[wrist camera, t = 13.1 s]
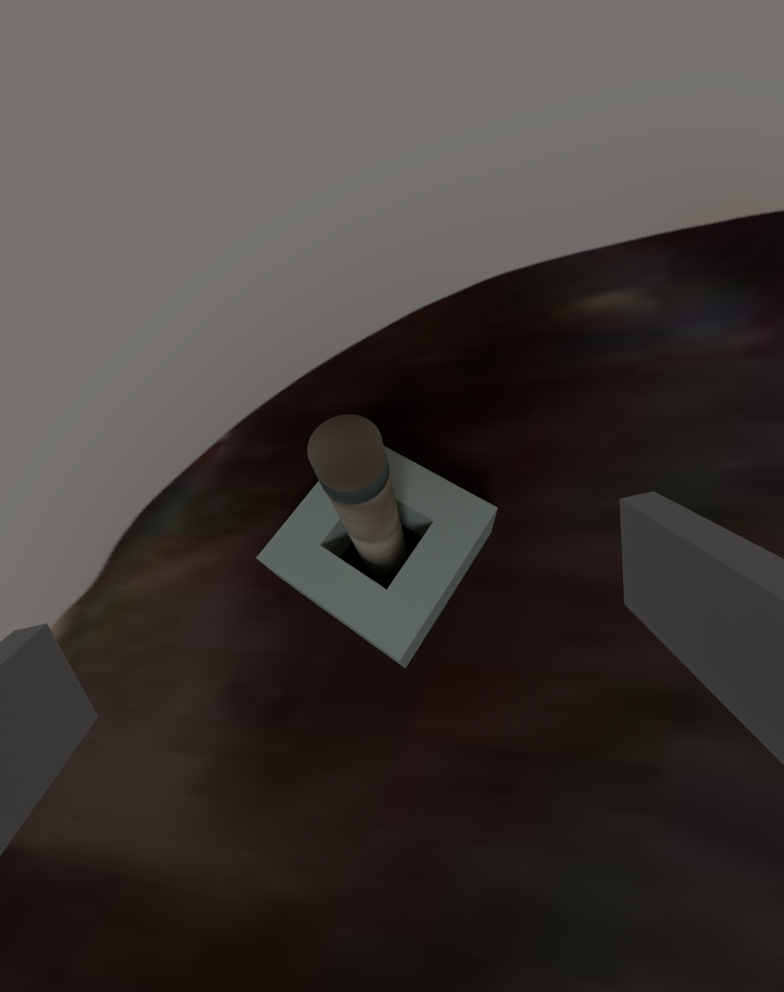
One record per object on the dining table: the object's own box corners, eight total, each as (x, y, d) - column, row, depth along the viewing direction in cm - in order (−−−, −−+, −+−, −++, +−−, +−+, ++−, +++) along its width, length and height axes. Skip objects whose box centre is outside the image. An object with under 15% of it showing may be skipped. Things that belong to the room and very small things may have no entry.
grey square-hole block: (367, 463, 36) (358, 431, 32) (490, 533, 33) (497, 507, 29) (279, 577, 33) (256, 558, 29) (405, 668, 29) (399, 661, 25)
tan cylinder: (387, 525, 34) (351, 400, 20) (417, 556, 32) (399, 446, 19) (353, 553, 33) (291, 444, 19) (382, 587, 32) (337, 495, 18)
